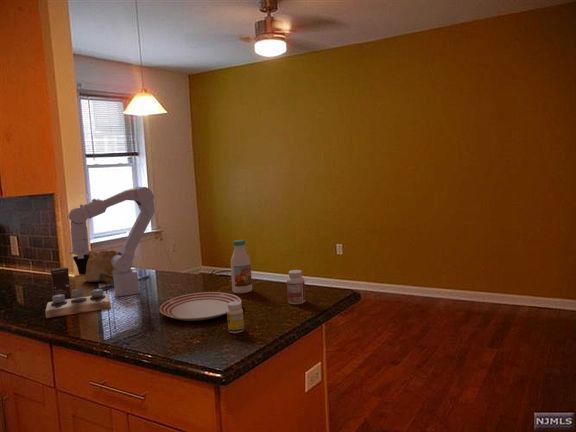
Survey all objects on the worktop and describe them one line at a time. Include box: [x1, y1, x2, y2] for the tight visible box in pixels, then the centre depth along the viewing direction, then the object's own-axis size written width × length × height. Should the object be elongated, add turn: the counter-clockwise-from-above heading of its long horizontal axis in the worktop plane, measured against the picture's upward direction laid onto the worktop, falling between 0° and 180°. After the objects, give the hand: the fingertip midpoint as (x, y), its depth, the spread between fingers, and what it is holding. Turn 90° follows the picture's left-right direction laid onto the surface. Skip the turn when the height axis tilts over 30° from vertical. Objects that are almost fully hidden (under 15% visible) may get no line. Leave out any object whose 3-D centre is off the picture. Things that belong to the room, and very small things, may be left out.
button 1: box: [52, 294, 66, 303], centre depth 170 cm, size 4×4×2 cm
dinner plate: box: [158, 291, 242, 322], centre depth 161 cm, size 28×27×3 cm
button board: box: [44, 293, 112, 319], centre depth 172 cm, size 21×12×3 cm, turn 113°
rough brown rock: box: [82, 250, 118, 285], centre depth 213 cm, size 23×17×15 cm
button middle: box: [71, 287, 85, 298], centre depth 173 cm, size 4×4×2 cm
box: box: [50, 266, 72, 299], centre depth 188 cm, size 6×4×12 cm
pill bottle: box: [286, 269, 306, 305], centre depth 165 cm, size 6×6×11 cm
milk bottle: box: [230, 239, 253, 294], centre depth 183 cm, size 8×8×20 cm
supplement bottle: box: [226, 301, 245, 334], centre depth 140 cm, size 5×5×8 cm
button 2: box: [90, 288, 104, 297], centre depth 175 cm, size 4×4×2 cm
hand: (82, 274), depth 181 cm, fingers closed
